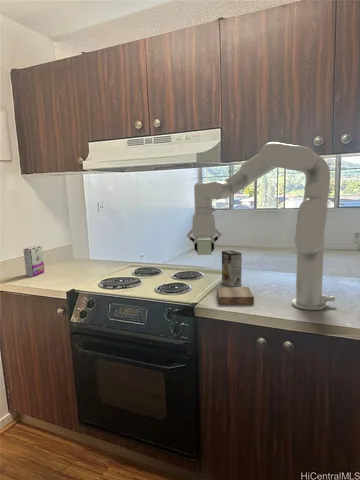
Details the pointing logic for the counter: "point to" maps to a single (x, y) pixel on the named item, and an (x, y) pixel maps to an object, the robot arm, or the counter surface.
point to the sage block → (204, 246)
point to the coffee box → (231, 268)
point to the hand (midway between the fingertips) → (204, 251)
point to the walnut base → (235, 295)
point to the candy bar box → (33, 261)
